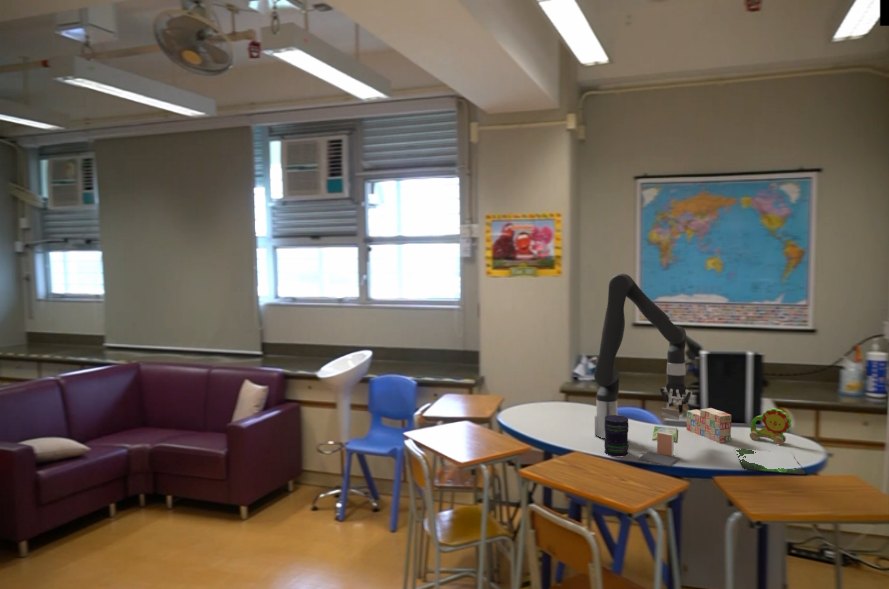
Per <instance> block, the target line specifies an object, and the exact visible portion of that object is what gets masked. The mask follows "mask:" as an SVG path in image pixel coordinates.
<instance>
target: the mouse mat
mask: <svg viewBox="0 0 889 589" xmlns="http://www.w3.org/2000/svg"><path fill="white" fill-rule="evenodd" d="M746 449H747V448H741V450H740V449H739V450H736V451H737V452H739V454H740V455H739V456H738V457H737V459H738V458H739V457H740V456H743V455H744V454H754V451H752V450H746ZM755 453H756V452H755ZM737 455H738V454H736V456H737ZM744 457H745V458H746V456H744ZM744 457H743V458H744ZM739 460H740V459H738V461H739ZM741 461H742V462H741ZM739 463H740V465H741V468H742V469H743V468H744V470H745V469H747V470H746V471H749V470H752V471H751V472H761V471H762V472H764V473H773V474H784V475H785V474H786V475H787V474H788V475H796V476H797V475H800V476H804V475H806V474H807V471H805V469H804V468H803V467H802V469H796V468H794V469H784V468H781V469H780V468H778V469H767V468H765V467H764V466H762V465H758V464H755V463H749V462H747V461H745V460H744V459H742V460H740V461H739Z"/></svg>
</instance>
